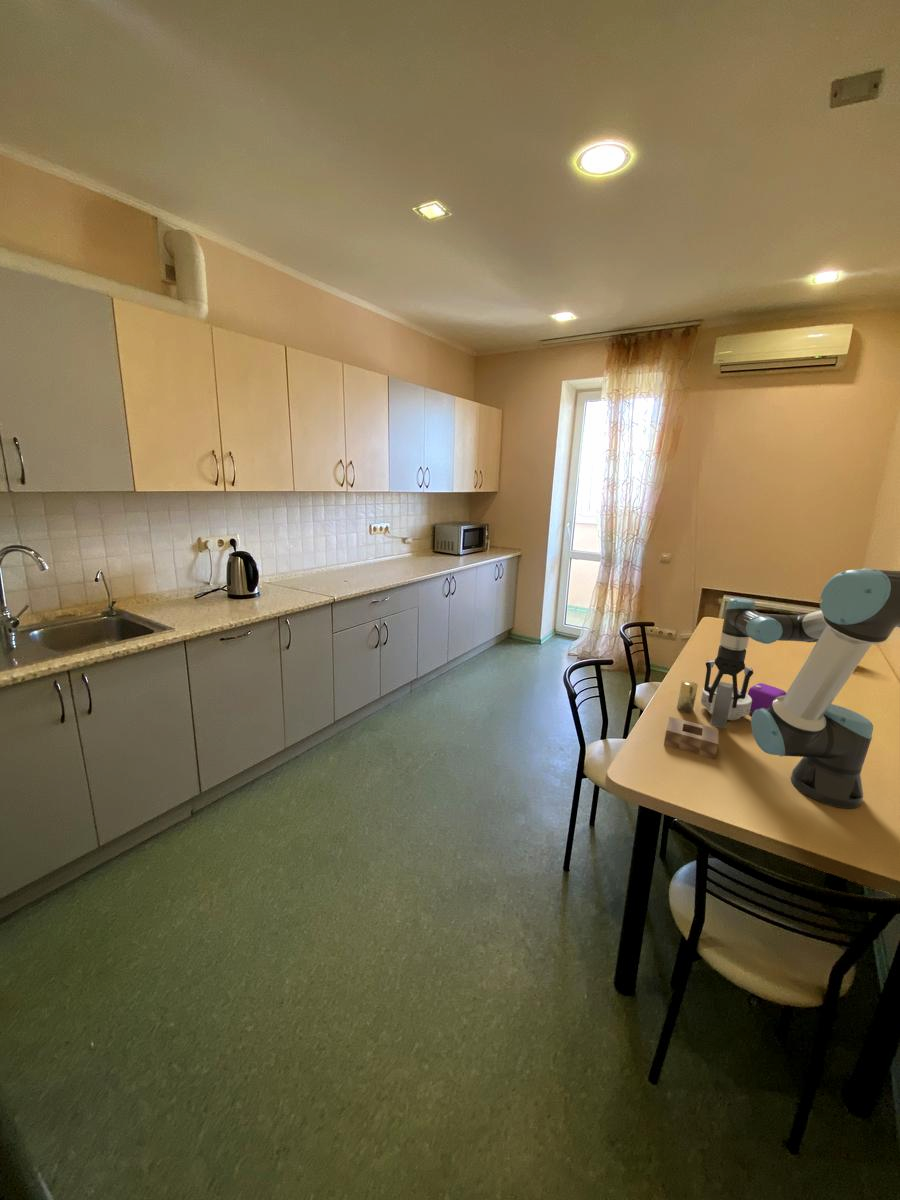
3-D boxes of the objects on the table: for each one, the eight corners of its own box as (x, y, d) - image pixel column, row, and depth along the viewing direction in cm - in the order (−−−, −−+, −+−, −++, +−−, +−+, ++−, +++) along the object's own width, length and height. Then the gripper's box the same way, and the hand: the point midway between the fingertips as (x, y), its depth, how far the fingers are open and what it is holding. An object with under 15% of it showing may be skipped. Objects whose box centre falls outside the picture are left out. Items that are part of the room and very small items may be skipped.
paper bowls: (702, 719, 162) (706, 698, 160) (696, 700, 176) (700, 681, 174) (752, 728, 157) (757, 707, 155) (742, 708, 171) (747, 688, 169)
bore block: (715, 743, 147) (718, 729, 146) (715, 759, 138) (718, 744, 137) (667, 730, 153) (669, 716, 152) (663, 744, 145) (666, 730, 144)
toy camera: (785, 710, 171) (791, 685, 168) (778, 723, 161) (784, 697, 158) (751, 700, 178) (756, 676, 175) (742, 712, 168) (748, 686, 166)
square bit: (725, 723, 156) (732, 684, 153) (725, 728, 152) (733, 688, 149) (710, 719, 158) (718, 681, 155) (710, 724, 154) (718, 685, 151)
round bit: (693, 708, 169) (698, 682, 167) (692, 714, 165) (697, 688, 162) (677, 704, 172) (682, 679, 169) (676, 710, 167) (680, 684, 165)
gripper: (764, 648, 148) (750, 716, 153) (702, 638, 156) (691, 702, 162) (766, 655, 141) (751, 725, 147) (701, 644, 150) (690, 711, 155)
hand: (719, 713), depth 154 cm, fingers closed on square bit, 4 cm apart
